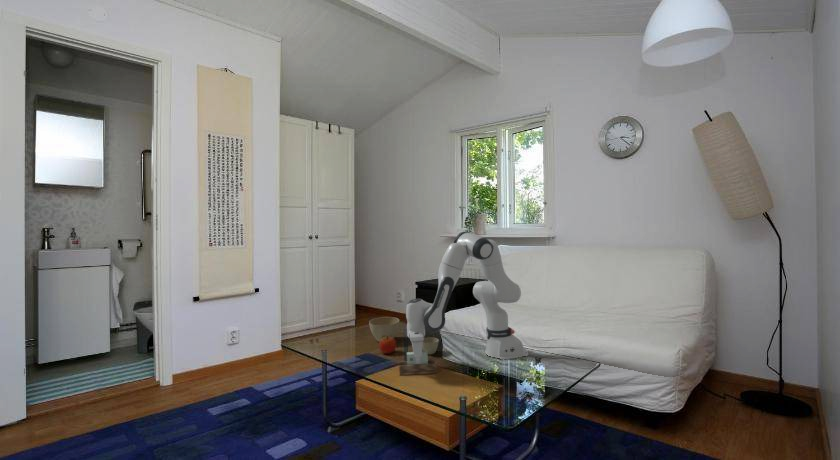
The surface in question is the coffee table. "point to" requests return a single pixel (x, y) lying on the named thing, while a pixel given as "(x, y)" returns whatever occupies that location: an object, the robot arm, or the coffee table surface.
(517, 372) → the coffee table surface
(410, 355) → the pale mint flat box
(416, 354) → the robot arm
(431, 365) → the brown flat wooden block
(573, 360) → the coffee table surface
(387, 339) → the fruit
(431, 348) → the bowl
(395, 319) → the large beige bowl
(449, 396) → the coffee table surface
